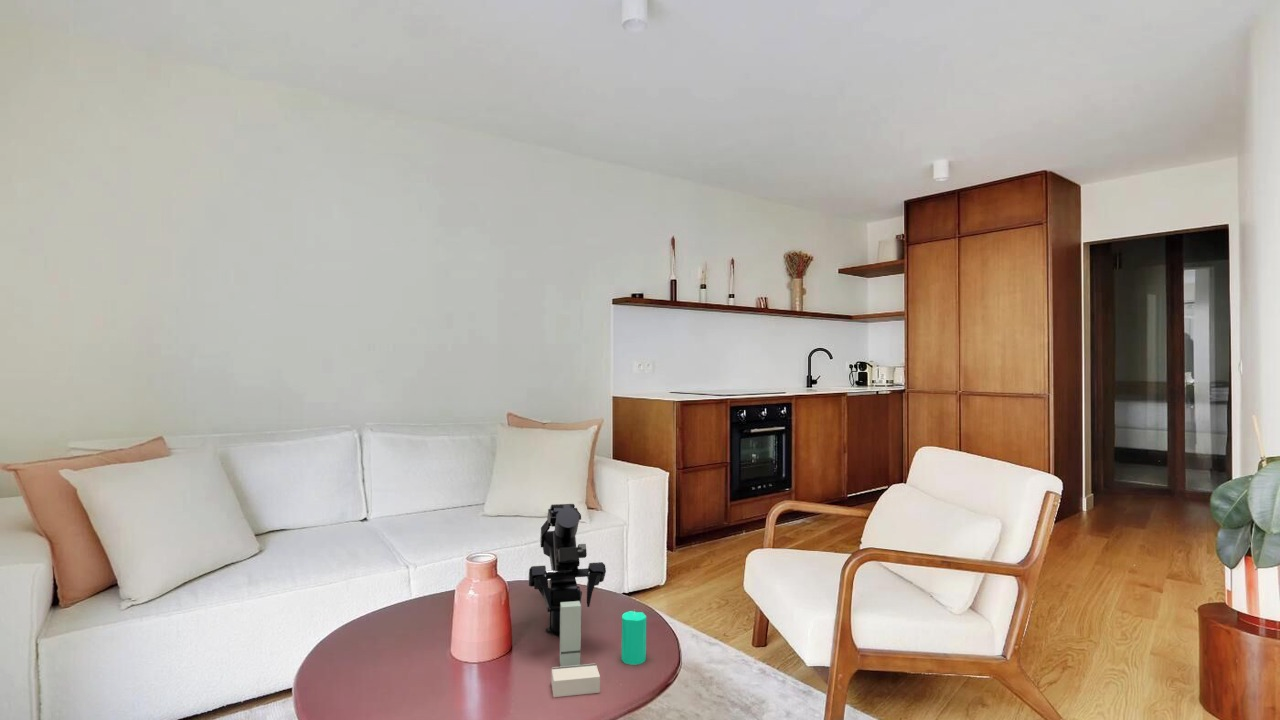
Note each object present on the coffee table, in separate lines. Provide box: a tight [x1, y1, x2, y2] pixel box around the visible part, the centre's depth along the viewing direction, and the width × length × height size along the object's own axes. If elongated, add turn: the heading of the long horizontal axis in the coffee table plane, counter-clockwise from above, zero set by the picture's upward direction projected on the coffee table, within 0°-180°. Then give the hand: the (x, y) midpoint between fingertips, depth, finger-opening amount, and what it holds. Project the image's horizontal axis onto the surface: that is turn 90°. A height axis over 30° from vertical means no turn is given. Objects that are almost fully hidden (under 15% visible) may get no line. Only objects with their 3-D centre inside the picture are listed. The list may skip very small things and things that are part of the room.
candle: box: [621, 608, 647, 666], centre depth 156 cm, size 6×6×12 cm
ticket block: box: [550, 663, 601, 698], centre depth 143 cm, size 6×10×4 cm, turn 102°
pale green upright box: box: [559, 601, 582, 667], centre depth 153 cm, size 3×5×14 cm, turn 103°
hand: (569, 607), depth 155 cm, fingers open, 9 cm apart
